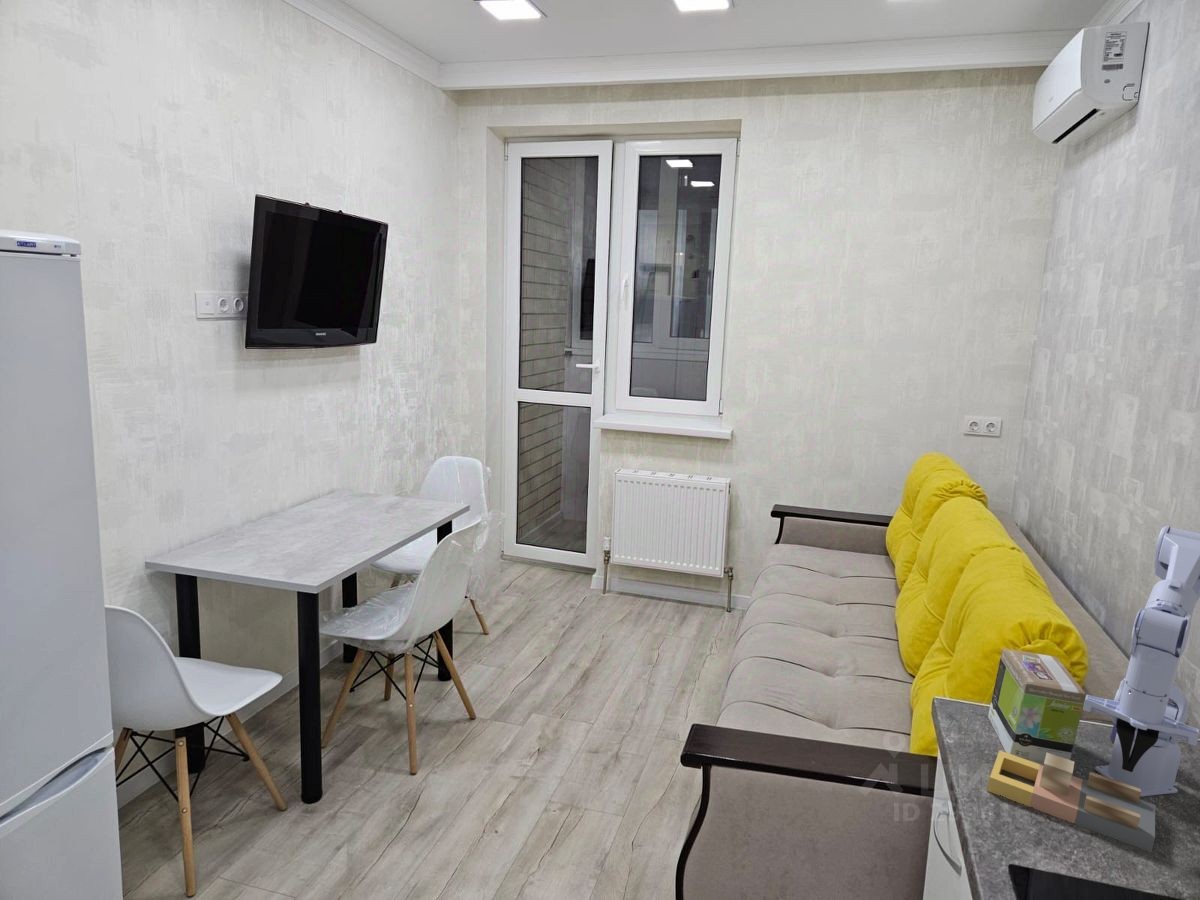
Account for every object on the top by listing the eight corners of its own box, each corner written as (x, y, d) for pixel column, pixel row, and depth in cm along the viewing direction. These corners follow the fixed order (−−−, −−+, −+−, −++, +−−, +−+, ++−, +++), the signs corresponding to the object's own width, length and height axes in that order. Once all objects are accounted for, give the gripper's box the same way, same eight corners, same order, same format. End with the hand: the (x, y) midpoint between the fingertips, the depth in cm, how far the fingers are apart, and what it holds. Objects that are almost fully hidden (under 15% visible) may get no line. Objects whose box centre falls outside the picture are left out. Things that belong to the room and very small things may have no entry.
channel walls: (1138, 800, 129) (1141, 789, 129) (1137, 829, 122) (1140, 817, 121) (1087, 782, 133) (1090, 771, 132) (1083, 809, 125) (1086, 798, 125)
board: (1151, 818, 129) (1155, 804, 128) (1151, 852, 120) (1155, 837, 120) (996, 763, 141) (999, 750, 140) (987, 790, 132) (989, 777, 132)
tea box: (1070, 771, 140) (1088, 693, 137) (1008, 760, 142) (1024, 683, 139) (1042, 726, 154) (1058, 654, 151) (986, 716, 156) (1000, 645, 153)
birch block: (1069, 783, 132) (1074, 761, 131) (1067, 795, 129) (1072, 773, 128) (1041, 774, 134) (1046, 752, 133) (1039, 785, 131) (1044, 763, 130)
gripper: (1089, 680, 123) (1071, 760, 126) (1206, 715, 115) (1184, 800, 118) (1093, 664, 129) (1076, 741, 132) (1205, 696, 121) (1184, 778, 124)
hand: (1127, 767), depth 125 cm, fingers closed
